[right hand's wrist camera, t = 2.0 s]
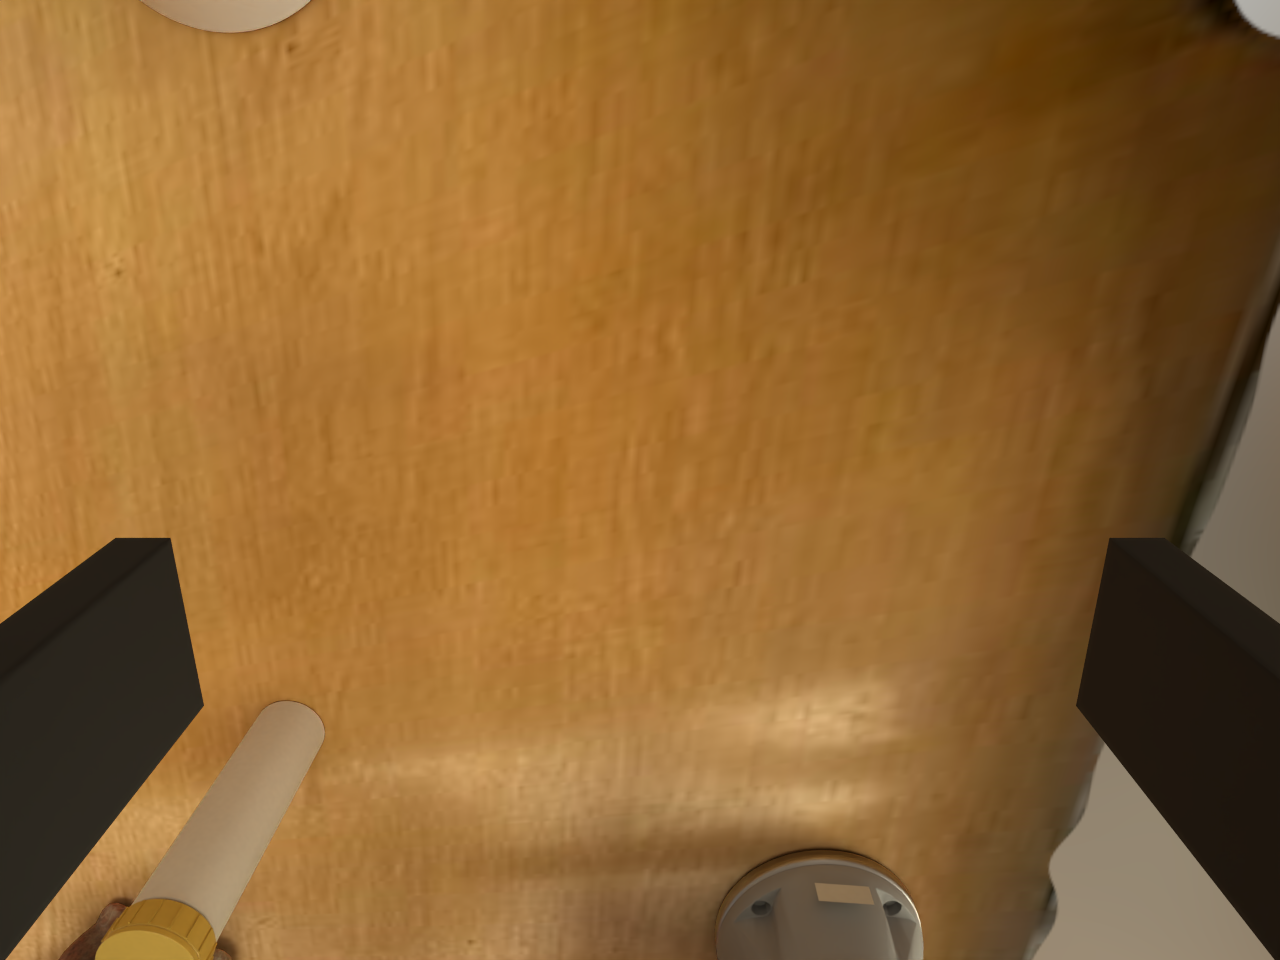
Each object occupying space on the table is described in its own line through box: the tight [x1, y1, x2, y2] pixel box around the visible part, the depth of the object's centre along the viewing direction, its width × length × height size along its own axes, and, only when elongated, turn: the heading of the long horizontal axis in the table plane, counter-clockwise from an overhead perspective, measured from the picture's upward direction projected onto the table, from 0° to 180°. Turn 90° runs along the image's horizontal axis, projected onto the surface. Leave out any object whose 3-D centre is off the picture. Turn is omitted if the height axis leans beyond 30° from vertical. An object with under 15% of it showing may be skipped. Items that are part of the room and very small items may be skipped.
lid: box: [95, 899, 217, 960], centre depth 45 cm, size 5×5×2 cm
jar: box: [132, 701, 325, 942], centre depth 53 cm, size 5×5×19 cm
